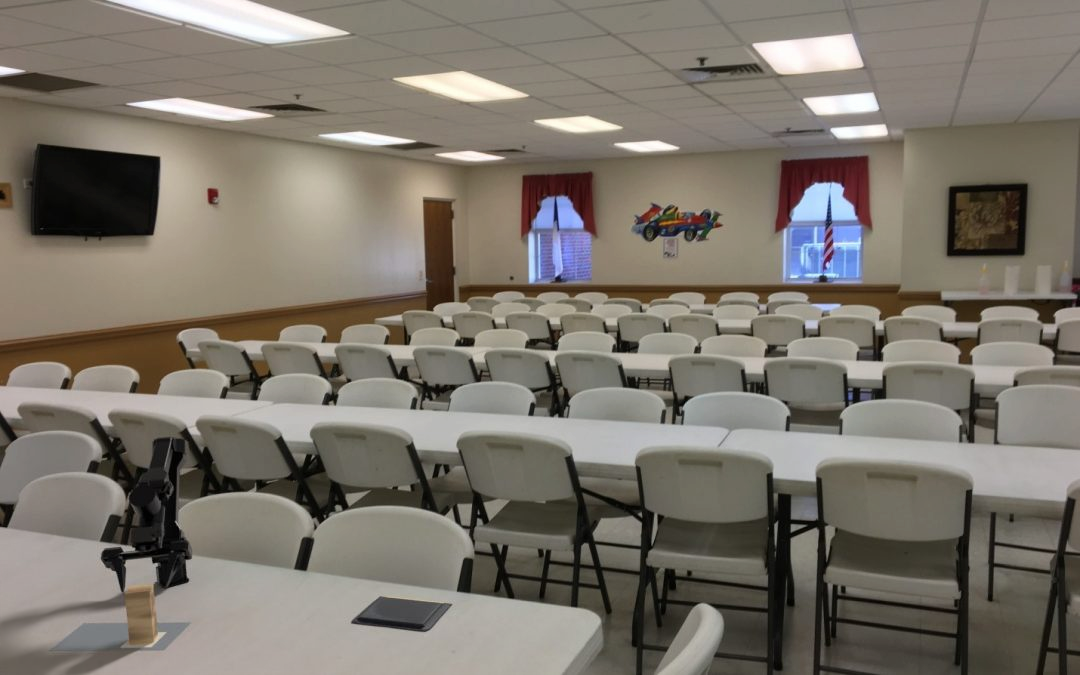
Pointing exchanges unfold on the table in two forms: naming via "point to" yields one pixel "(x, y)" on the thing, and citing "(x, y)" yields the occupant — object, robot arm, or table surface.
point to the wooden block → (141, 614)
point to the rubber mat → (116, 637)
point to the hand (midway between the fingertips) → (144, 589)
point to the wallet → (402, 613)
